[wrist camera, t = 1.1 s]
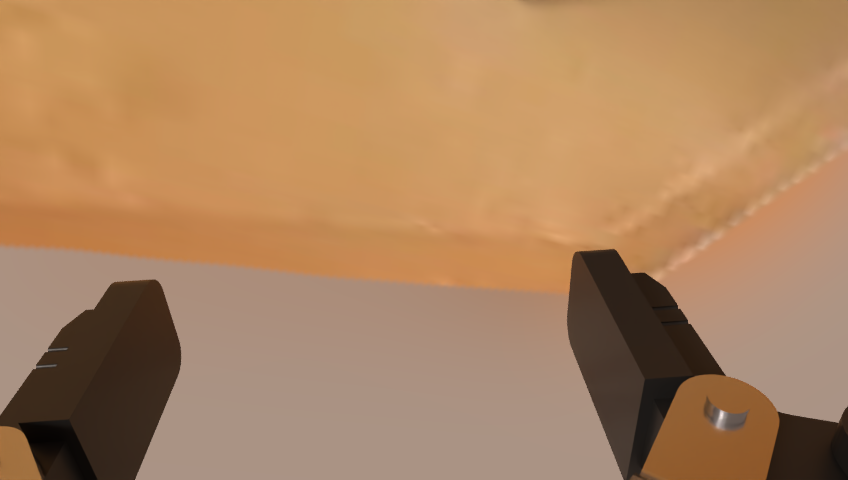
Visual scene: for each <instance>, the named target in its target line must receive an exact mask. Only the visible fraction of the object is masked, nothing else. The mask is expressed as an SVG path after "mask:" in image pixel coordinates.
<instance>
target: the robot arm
mask: <svg viewBox="0 0 848 480" xmlns="http://www.w3.org/2000/svg"><path fill="white" fill-rule="evenodd" d="M567 326H568V335H569V340H570V344H571V347H572V350H573V352H574V355H575V357H576V360H577V363H578V365H579V368H580V370H581V373H582V375H583V378H584V380H585V383H586V385H587V388H588V390H589V393H590V395H591V398H592V401H593V403H594V406H595V408H596V410H597V413H598V416H599V418H600V421H601V423H602V426H603V428H604V431H605V433H606V436H607V439H608V441H609V444H610V446H611V449H612V451H613V454H614V456H615V459H616V461H617V464H618V466H619V469H620V471H621V474H622V477H623V479H624V480H848V407H847V408H846V409H845V411H844V412H843V414H842V417H841V419H840V421H839V423H836V422H830V421H823V420H818V419H812V418H806V417H800V416H794V415H789V414H784V413H780V412H777V411H776V408H775V407H774V406H773V404H772V402H771V401H770V400H769V399H768V398H767V397H766V396H765V395H764V394H763V393H761V392H760V391H759V390H757V389H756V388H754V387H753V386H751V385H749V384H747V383H745V382H743V381H740V380H738V379H735V378H731V377H727V376H726V375H725V374H724V372H723V371H722V370H721V368H720V367H719V365H718V364H717V362H716V361H715V359H714V358H713V357H712V355H711V353H710V352H709V350H708V349H707V347H706V346H705V345H704V343H703V342H702V340H701V339H700V337H699V336H698V334H697V333H696V331H695V330H694V328H693V327H692V325H691V324H688V320H687V318H686V317H685V315H684V314H683V312H682V311H681V309H678V305H677V303H676V302H675V300H674V299H673V297H672V296H671V295H670V293H669V292H668V290H667V289H666V287H664V286H663V285H661V284H660V283H659V282H657V281H656V280H654V279H653V278H651V277H650V276H648V275H647V274H646V273H632V274H631V273H630V271H629V270H628V268H627V267H626V265H625V263H624V262H623V260H622V259H621V257H620V255H619V254H618V252H617V251H616V250H614V249H609V250H594V251H580V252H575V254H574V256H573V260H572V269H571V280H570V291H569V304H568V314H567ZM180 365H181V347H180V343H179V339H178V336H177V333H176V330H175V326H174V323H173V320H172V317H171V314H170V311H169V308H168V305H167V302H166V298H165V295H164V292H163V289H162V287H161V285H160V283H159V282H158V281H156V280H140V281H124V282H114V283H113V284H111V285H110V287H109V288H108V289H107V291H106V292H105V294H104V295H103V297H102V298H101V300H100V302H99V303H98V304H97V306H96V307H95V309H94V310H85V311H84V312H83V313H81V314H80V315H79V316H78V317H76V318H75V319H74V320H72V321H71V322H70V323H69V324H67V325H66V326H65V327H64V328H62V329H61V331H60V332H59V334H58V335H57V336H56V338H55V339H54V341H53V342H52V343H51V345H50V346H49V348H48V352H45V353H44V355H43V356H42V358H41V359H40V360H39V362H38V363H37V365H36V369H33V370H32V372H31V373H30V374H29V376H28V377H27V379H26V380H25V382H24V383H23V384H22V386H21V387H20V388H19V390H18V391H17V393H16V394H15V395H14V397H13V398H12V400H11V401H10V403H9V404H8V405H7V407H6V408H5V410H4V411H3V412H2V414H1V415H0V480H135V478H136V476H137V473H138V471H139V469H140V466H141V464H142V461H143V459H144V456H145V454H146V452H147V449H148V447H149V444H150V442H151V439H152V437H153V435H154V432H155V430H156V427H157V425H158V423H159V420H160V418H161V415H162V413H163V410H164V408H165V406H166V403H167V401H168V398H169V396H170V394H171V391H172V389H173V386H174V384H175V381H176V379H177V377H178V374H179V370H180Z"/></svg>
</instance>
